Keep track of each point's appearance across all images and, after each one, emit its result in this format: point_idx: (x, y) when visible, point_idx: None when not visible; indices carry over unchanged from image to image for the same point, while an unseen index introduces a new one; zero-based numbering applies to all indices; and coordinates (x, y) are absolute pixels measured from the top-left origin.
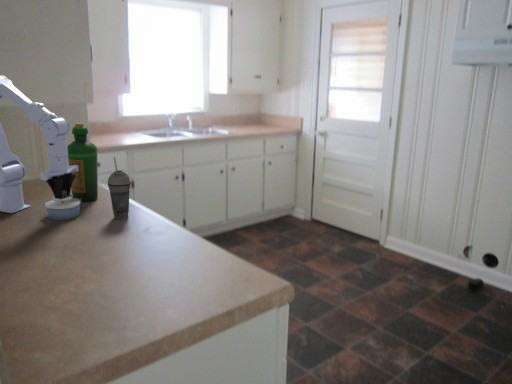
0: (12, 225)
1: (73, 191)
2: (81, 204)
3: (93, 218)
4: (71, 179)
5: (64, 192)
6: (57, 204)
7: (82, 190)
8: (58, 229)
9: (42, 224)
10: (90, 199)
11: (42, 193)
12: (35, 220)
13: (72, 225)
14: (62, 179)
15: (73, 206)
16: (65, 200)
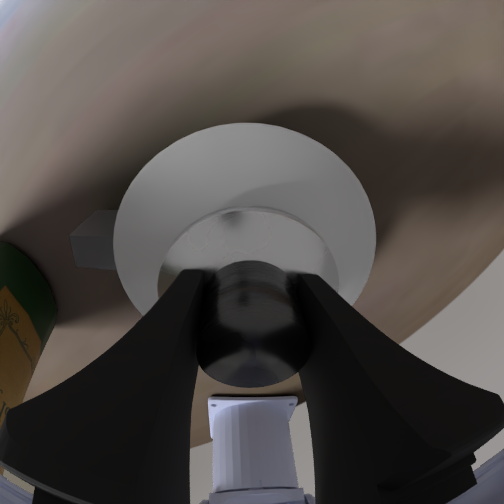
0: (412, 317)
1: (39, 345)
2: (92, 215)
3: (235, 13)
4: (115, 416)
5: (274, 298)
6: None
7: (8, 307)
8: (444, 114)
9: (402, 227)
10: (12, 250)
11: None
12: None
13: (387, 69)
14: (459, 442)
15: (289, 130)
16: (304, 222)
